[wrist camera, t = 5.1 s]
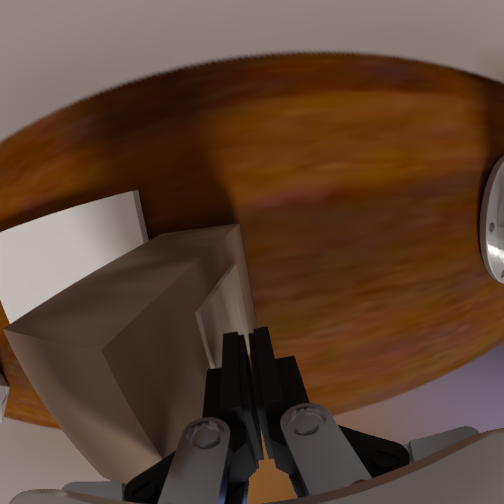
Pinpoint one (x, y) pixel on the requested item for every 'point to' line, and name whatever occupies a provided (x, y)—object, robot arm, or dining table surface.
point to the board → (65, 249)
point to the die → (3, 396)
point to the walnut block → (137, 345)
